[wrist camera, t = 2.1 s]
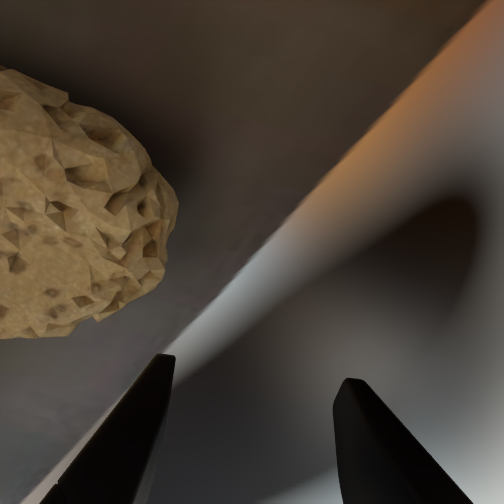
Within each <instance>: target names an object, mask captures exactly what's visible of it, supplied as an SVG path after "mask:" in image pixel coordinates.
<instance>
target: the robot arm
mask: <svg viewBox="0 0 504 504" xmlns="http://www.w3.org/2000/svg"><path fill="white" fill-rule="evenodd" d="M175 361H176V358H175V356H173V355H167V354H157V355H156V356H155V357H154V358H153V359H152V360H151V362H150V363H149V364H148V366H147V367H146V368H145V369H144V371H143V372H142V373H141V374H140V376H139V377H138V378H137V380H136V381H135V382H134V383H133V385H132V386H131V387H130V389H129V390H128V391H127V392H126V394H125V395H124V396H123V398H122V399H121V400H120V401H119V403H118V404H117V405H116V407H115V408H114V409H113V410H112V412H111V413H110V414H109V415H108V417H107V418H106V419H105V421H104V422H103V423H102V425H101V426H100V427H99V428H98V430H97V431H96V432H95V433H94V435H93V436H92V437H91V439H90V440H89V441H88V442H87V444H86V445H85V446H84V448H83V449H82V450H81V451H80V453H79V454H78V455H77V457H76V458H75V459H74V460H73V462H72V463H71V464H70V466H69V467H68V468H67V469H66V471H65V472H64V473H63V474H62V476H61V477H60V478H59V480H58V484H55V485H54V486H53V487H52V488H51V489H50V491H49V492H48V493H47V495H46V496H45V497H44V498H43V500H42V501H41V502H40V504H147V501H148V498H149V494H150V490H151V487H152V483H153V480H154V476H155V473H156V469H157V465H158V461H159V456H160V451H161V445H162V440H163V434H164V428H165V423H166V417H167V412H168V406H169V400H170V394H171V387H172V380H173V374H174V367H175ZM333 420H334V431H335V442H336V443H335V444H336V455H337V466H338V476H339V483H340V489H341V494H342V499H343V504H473V502H472V501H471V500H470V499H469V498H468V497H467V496H466V495H465V494H464V492H463V491H462V490H461V489H460V488H459V487H458V486H457V484H455V482H454V481H453V480H452V479H451V478H450V477H449V475H448V474H447V473H446V472H445V471H444V470H443V469H442V468H441V466H440V465H439V464H438V463H437V462H436V461H435V460H434V458H432V456H431V455H430V454H429V453H428V452H427V451H426V450H425V448H424V447H423V446H422V445H421V444H420V443H419V442H418V441H417V439H416V438H415V437H414V436H413V435H412V434H411V433H410V431H409V430H408V429H407V428H406V427H405V426H404V425H403V424H402V422H401V421H400V420H399V419H398V418H397V417H396V416H395V415H394V413H393V412H392V411H391V410H390V409H389V408H388V407H387V405H386V404H385V403H384V402H383V401H382V400H381V399H380V398H379V396H378V395H377V394H376V393H375V392H374V391H373V390H372V389H371V387H370V386H369V385H368V384H367V383H366V382H365V381H364V380H361V379H353V378H346V379H345V380H344V381H343V383H342V385H341V387H340V389H339V392H338V394H337V396H336V398H335V400H334V404H333Z"/></svg>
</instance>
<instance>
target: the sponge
mask: <svg viewBox="0 0 504 504" xmlns="http://www.w3.org/2000/svg"><path fill="white" fill-rule="evenodd" d="M178 207H179V202H178V199H177V197H176V194H175V192H174V189H173V188H172V187H171V186H170V185H169V184H168V182H167V181H166V180H165V179H164V178H163V177H162V175H161V174H160V173H159V172H158V171H157V170H156V168H154V167H153V166H152V163H151V159H150V157H149V155H148V154H147V152H146V149H145V148H144V147H143V146H142V145H141V143H140V142H139V141H138V140H137V139H136V138H135V137H134V136H133V135H132V134H131V133H130V132H128V131H127V130H126V129H125V128H124V127H123V126H122V125H121V124H120V123H118V122H117V121H116V120H115V119H114V118H113V117H111V116H109V115H107V114H105V113H103V112H100V111H98V110H96V109H94V108H92V107H87V106H82V105H77V104H74V103H72V102H70V101H69V97H68V93H67V92H64V91H62V90H59V89H57V88H54V87H51V86H49V85H46V84H44V83H42V82H39V81H37V80H35V79H33V78H31V77H29V76H26V75H24V74H22V73H20V72H18V71H15V70H13V69H9V70H8V69H7V68H5V67H3V66H2V65H0V339H11V338H16V337H24V338H31V339H36V338H40V337H57V336H68V335H69V334H70V333H71V332H72V331H73V330H74V328H75V327H76V326H77V325H78V324H79V323H80V322H81V321H83V320H85V319H87V318H90V317H92V316H93V317H94V319H95V320H96V321H97V322H99V321H101V320H102V319H104V318H106V317H108V316H109V315H111V314H113V313H115V312H117V311H118V310H120V309H121V308H122V307H124V306H125V305H126V304H127V303H129V302H131V301H133V300H135V299H137V298H139V297H141V296H143V295H145V294H147V293H149V292H150V291H152V290H154V289H155V288H156V287H157V284H158V283H159V282H160V281H162V279H163V275H164V272H165V263H166V262H167V250H166V243H167V239H168V237H169V235H170V233H171V232H172V230H173V229H174V227H175V222H176V217H177V212H178Z"/></svg>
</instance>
